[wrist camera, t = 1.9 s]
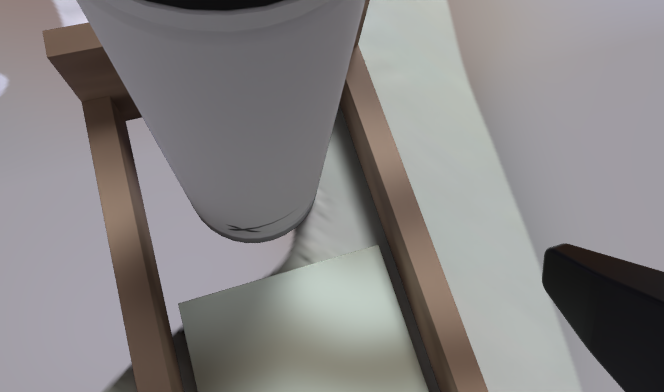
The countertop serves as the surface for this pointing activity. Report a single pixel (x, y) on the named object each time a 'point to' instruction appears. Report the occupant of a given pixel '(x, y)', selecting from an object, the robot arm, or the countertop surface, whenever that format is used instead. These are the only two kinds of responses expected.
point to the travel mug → (235, 98)
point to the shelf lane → (282, 289)
